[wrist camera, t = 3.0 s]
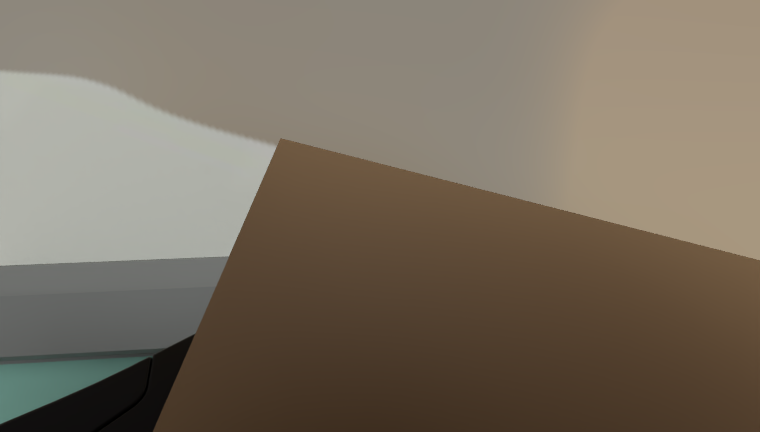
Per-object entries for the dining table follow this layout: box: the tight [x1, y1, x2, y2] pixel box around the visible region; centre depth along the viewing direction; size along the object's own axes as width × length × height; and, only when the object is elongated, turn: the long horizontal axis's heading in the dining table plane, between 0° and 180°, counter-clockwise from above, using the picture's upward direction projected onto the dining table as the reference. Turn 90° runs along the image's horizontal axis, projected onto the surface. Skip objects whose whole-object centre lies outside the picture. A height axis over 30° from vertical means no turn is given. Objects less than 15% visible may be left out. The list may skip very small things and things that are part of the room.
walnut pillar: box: [153, 139, 760, 432], centre depth 8 cm, size 4×4×12 cm
